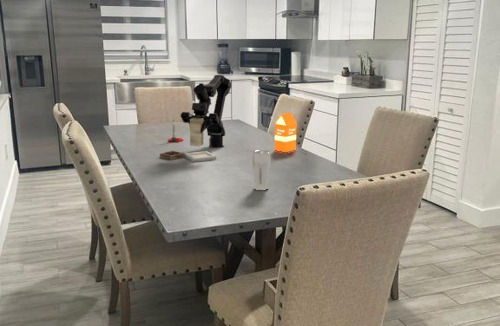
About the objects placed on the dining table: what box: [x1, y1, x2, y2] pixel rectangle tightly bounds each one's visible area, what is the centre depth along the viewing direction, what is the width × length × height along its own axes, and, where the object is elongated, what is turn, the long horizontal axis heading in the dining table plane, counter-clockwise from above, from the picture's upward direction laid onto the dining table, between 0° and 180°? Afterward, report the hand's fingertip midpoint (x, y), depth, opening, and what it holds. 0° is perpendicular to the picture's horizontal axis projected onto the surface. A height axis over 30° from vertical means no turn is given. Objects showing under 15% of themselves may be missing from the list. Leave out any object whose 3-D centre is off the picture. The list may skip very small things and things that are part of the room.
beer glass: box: [252, 149, 271, 191], centre depth 189 cm, size 7×7×15 cm
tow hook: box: [167, 119, 184, 143], centre depth 281 cm, size 8×13×9 cm
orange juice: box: [274, 112, 297, 153], centre depth 256 cm, size 8×9×20 cm
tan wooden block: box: [189, 118, 204, 147], centre depth 237 cm, size 5×5×13 cm
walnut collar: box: [159, 150, 185, 161], centre depth 241 cm, size 8×8×2 cm
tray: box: [184, 150, 217, 163], centre depth 240 cm, size 12×12×2 cm
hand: (195, 132), depth 235 cm, fingers closed on tan wooden block, 5 cm apart
